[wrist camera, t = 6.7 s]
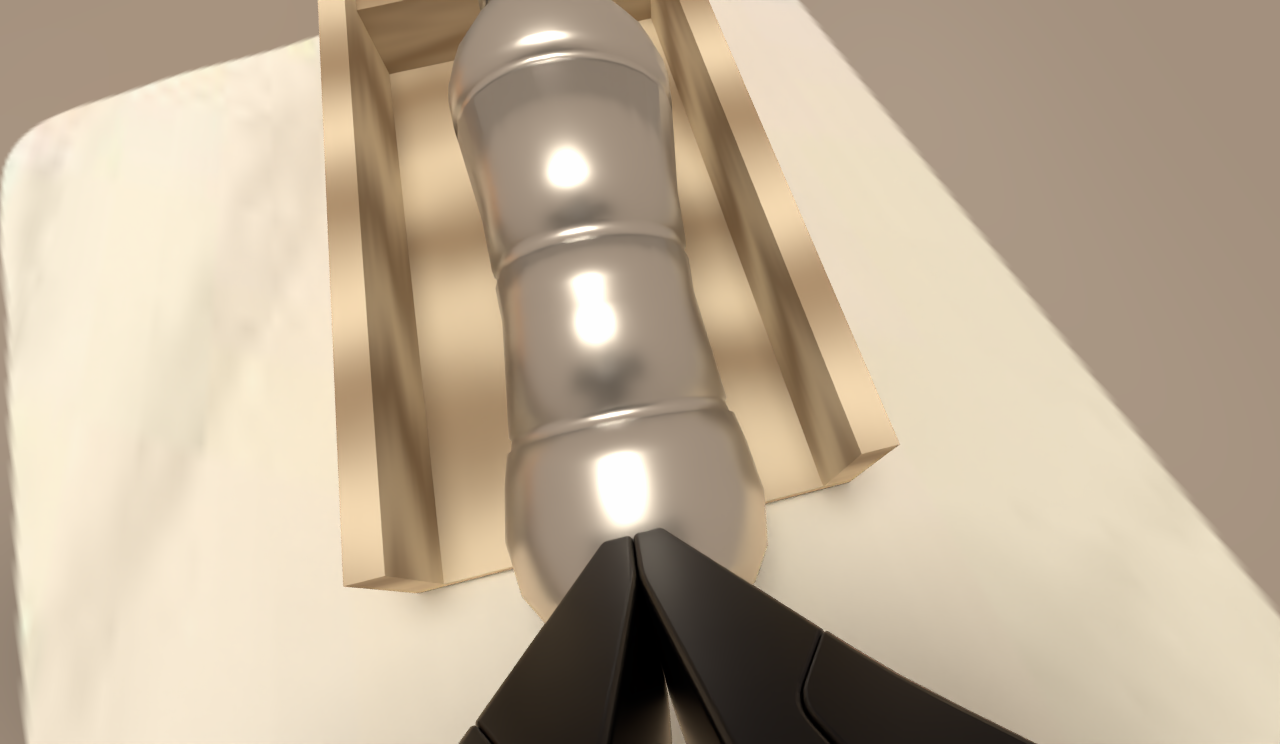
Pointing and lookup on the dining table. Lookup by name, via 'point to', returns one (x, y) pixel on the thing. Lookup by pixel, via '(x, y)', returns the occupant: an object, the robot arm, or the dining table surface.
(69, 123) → the dining table surface
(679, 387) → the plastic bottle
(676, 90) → the tray
